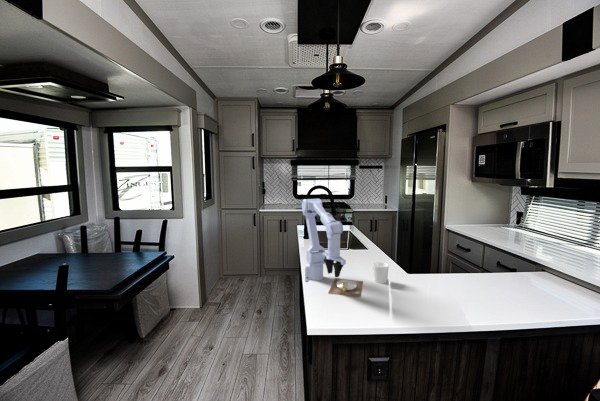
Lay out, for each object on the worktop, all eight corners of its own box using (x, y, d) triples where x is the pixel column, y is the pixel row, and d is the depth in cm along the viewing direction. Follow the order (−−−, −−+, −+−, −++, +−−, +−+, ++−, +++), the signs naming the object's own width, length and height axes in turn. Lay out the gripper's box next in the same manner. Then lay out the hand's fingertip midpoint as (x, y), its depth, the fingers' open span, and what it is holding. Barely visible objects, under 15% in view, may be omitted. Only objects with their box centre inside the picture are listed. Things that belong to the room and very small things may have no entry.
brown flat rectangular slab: (328, 295, 130) (328, 292, 130) (334, 280, 149) (334, 276, 148) (360, 300, 126) (360, 296, 126) (363, 283, 144) (363, 280, 144)
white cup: (370, 284, 144) (371, 265, 142) (374, 278, 150) (374, 261, 149) (386, 287, 140) (387, 268, 139) (389, 281, 147) (389, 263, 146)
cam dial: (338, 281, 143) (338, 271, 143) (357, 283, 140) (357, 273, 140) (333, 293, 129) (333, 282, 129) (354, 296, 127) (355, 285, 126)
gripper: (317, 244, 134) (317, 271, 135) (337, 252, 122) (337, 282, 123) (329, 242, 138) (328, 268, 139) (349, 250, 126) (348, 278, 127)
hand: (333, 274), depth 132 cm, fingers open, 5 cm apart
